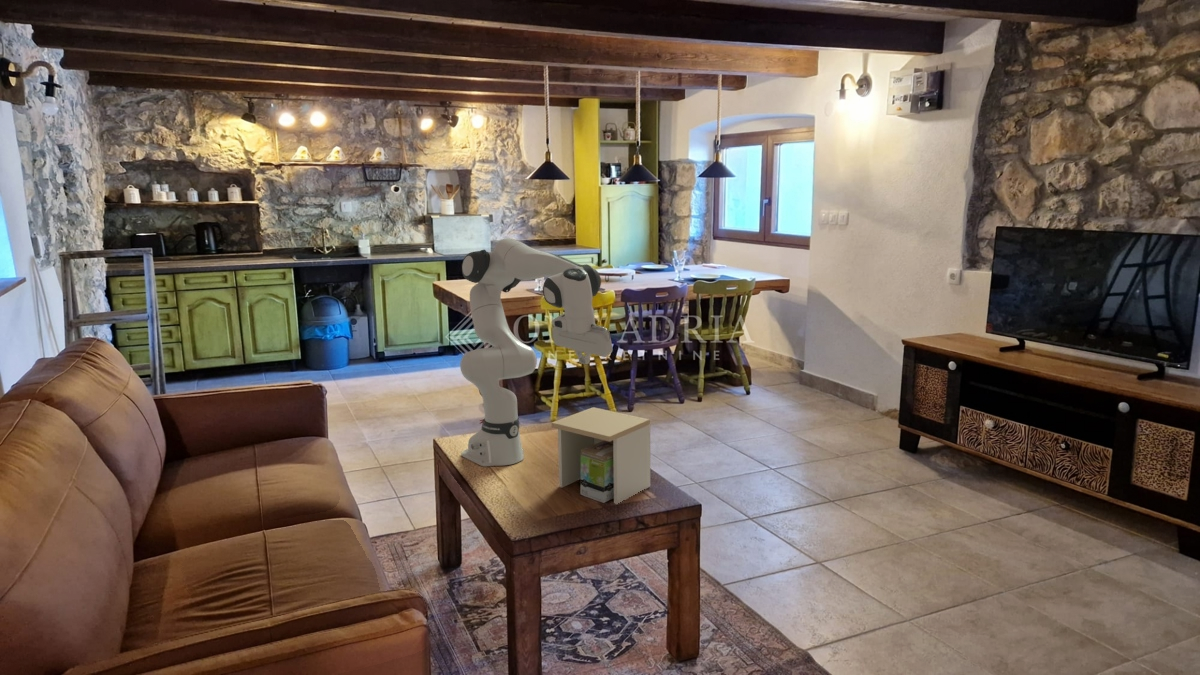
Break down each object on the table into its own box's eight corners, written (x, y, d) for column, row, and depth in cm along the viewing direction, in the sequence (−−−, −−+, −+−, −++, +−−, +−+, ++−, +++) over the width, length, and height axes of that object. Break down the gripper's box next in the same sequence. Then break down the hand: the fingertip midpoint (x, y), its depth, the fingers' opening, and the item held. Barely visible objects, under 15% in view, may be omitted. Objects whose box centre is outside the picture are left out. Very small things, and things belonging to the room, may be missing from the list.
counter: (552, 489, 232) (551, 422, 228) (593, 470, 248) (592, 407, 244) (610, 508, 219) (610, 436, 214) (650, 486, 234) (650, 419, 230)
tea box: (605, 504, 221) (604, 456, 219) (579, 495, 228) (578, 448, 225) (637, 488, 233) (637, 442, 230) (612, 480, 239) (611, 436, 236)
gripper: (614, 323, 224) (618, 365, 230) (560, 312, 235) (564, 352, 241) (602, 332, 220) (606, 374, 225) (547, 320, 231) (552, 360, 237)
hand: (584, 362), depth 233 cm, fingers closed
